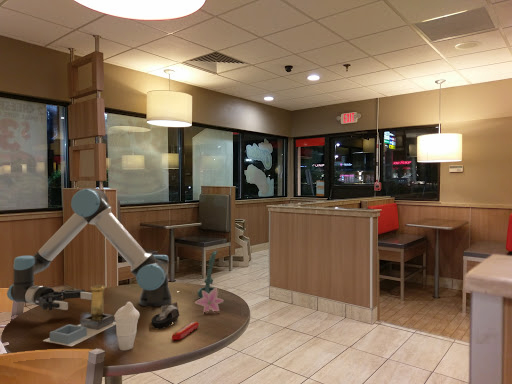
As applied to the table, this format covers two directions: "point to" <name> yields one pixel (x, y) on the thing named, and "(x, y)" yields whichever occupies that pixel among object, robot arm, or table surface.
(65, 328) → the collar
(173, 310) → the caster wheel
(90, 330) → the mounting plate
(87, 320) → the frame
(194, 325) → the candy bar
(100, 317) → the brass peg
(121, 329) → the soft serve ice cream cone
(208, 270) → the dark curved piece
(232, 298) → the table surface
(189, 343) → the table surface
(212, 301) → the lily
